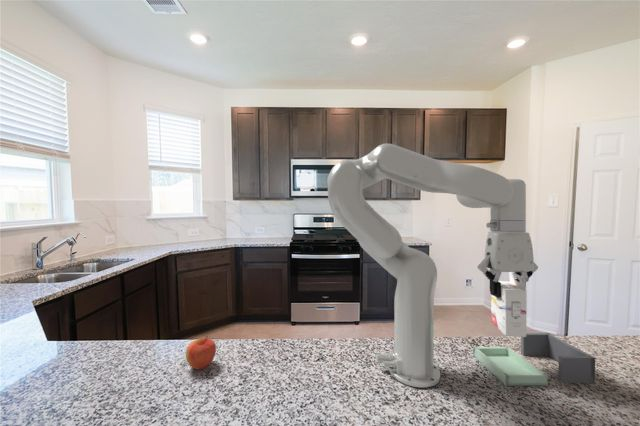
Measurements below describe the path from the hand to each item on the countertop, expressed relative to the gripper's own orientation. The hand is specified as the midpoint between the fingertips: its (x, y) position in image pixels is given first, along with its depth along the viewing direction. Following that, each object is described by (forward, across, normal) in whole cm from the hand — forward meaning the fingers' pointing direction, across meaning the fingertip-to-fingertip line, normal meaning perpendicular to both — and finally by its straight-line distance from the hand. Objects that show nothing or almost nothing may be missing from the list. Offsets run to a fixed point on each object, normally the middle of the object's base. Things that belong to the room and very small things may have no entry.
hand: (507, 295), depth 69 cm
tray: (+20, 0, 0) cm, 20 cm away
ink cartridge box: (+9, 0, 0) cm, 9 cm away
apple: (+19, -81, +2) cm, 84 cm away
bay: (+20, +13, +1) cm, 23 cm away
